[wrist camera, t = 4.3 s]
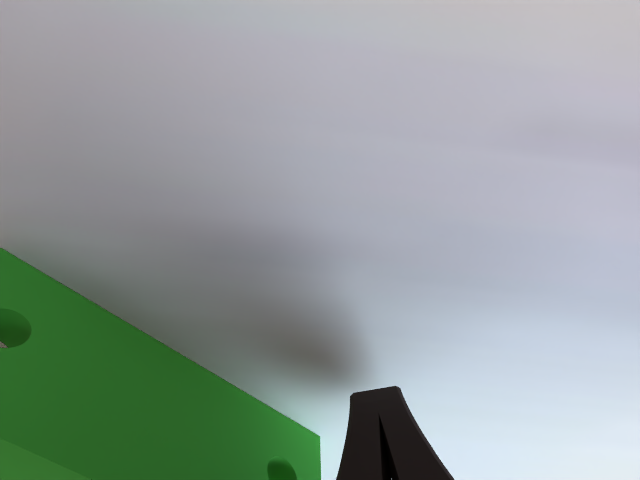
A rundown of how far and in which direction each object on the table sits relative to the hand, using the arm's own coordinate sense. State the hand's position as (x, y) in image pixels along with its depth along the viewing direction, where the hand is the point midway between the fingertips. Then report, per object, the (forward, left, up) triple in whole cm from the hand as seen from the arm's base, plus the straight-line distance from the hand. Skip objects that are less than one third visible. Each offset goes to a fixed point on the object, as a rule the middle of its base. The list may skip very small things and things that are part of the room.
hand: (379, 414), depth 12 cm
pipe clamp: (+1, +7, -2) cm, 7 cm away
